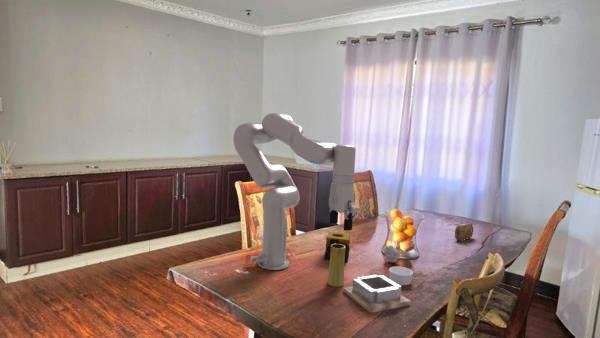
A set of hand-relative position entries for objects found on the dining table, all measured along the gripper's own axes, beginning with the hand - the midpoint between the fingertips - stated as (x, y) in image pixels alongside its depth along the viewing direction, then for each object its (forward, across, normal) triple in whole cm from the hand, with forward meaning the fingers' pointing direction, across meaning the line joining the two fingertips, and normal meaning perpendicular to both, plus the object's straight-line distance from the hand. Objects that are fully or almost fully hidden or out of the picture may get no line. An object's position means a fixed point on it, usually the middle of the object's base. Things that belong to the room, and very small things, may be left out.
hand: (340, 226), depth 141 cm
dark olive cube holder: (+22, -25, +15) cm, 36 cm away
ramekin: (+22, +5, +25) cm, 34 cm away
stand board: (+22, +14, +7) cm, 27 cm away
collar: (+20, +14, +7) cm, 26 cm away
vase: (+22, -1, 0) cm, 22 cm away
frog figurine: (+22, -13, +35) cm, 43 cm away
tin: (+22, -29, +96) cm, 102 cm away
